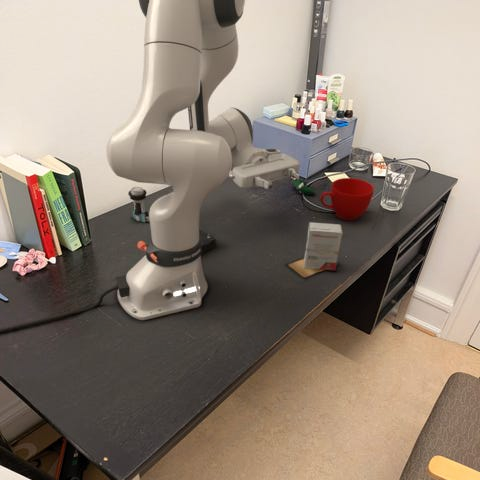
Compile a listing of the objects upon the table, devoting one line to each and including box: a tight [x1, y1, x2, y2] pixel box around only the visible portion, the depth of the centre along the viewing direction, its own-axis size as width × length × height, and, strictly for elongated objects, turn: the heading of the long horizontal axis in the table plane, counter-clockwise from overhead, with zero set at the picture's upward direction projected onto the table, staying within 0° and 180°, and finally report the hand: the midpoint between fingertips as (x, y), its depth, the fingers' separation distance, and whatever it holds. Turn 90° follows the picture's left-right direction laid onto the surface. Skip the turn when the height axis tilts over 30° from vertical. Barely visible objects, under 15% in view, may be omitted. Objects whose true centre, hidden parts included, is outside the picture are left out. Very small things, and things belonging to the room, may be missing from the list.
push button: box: [128, 186, 150, 223], centre depth 136 cm, size 7×5×10 cm
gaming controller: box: [291, 178, 315, 196], centre depth 157 cm, size 9×4×6 cm
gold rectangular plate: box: [287, 258, 338, 279], centre depth 123 cm, size 12×7×1 cm, turn 124°
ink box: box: [303, 221, 343, 271], centre depth 118 cm, size 9×5×12 cm, turn 84°
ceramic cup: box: [319, 177, 375, 221], centre depth 141 cm, size 13×17×10 cm
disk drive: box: [199, 228, 217, 253], centre depth 129 cm, size 10×3×15 cm
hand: (283, 182), depth 120 cm, fingers open, 8 cm apart
